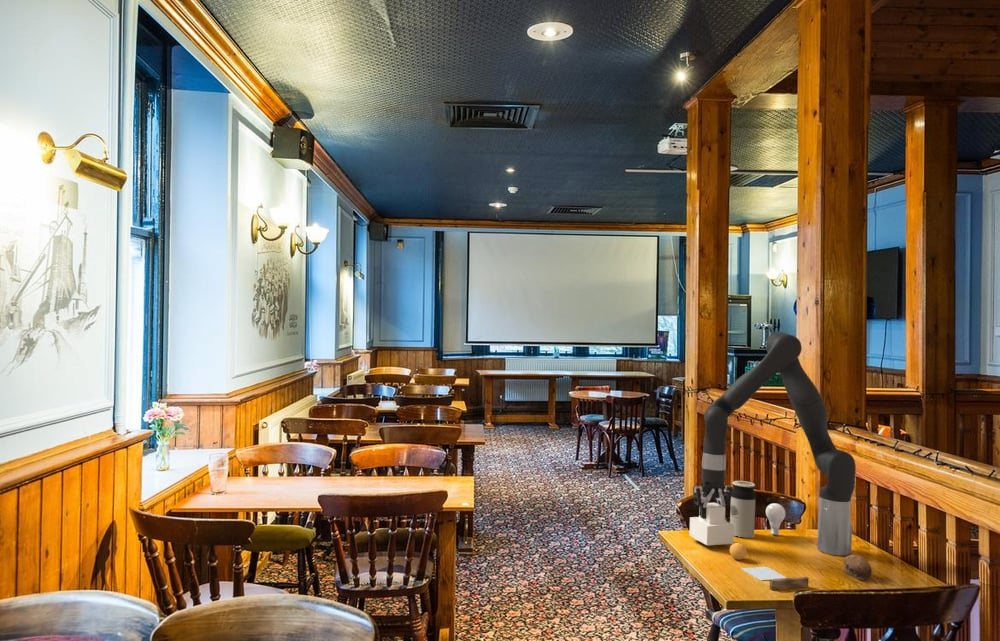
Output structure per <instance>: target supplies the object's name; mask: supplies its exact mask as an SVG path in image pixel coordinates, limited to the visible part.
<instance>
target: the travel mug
mask: <svg viewBox="0 0 1000 641" xmlns="http://www.w3.org/2000/svg"><path fill="white" fill-rule="evenodd" d="M755 486H756V484H755V483H754V482H750V481H747V480H746V481H745V480H734V481H732V488H733V490H732V496H731V502H730V512H729V514H730V515H729V516H730V517H729V523H731V524H733V525H734V537H736V536H738V537H737V538H740V537H744V538H743V539H751V538H754V537H755V524H756V523H755V521H756V520H755V519H756V518H755V517H756V492H755V490H754V489H755Z"/></svg>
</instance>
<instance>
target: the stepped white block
mask: <svg viewBox="0 0 1000 641" xmlns="http://www.w3.org/2000/svg"><path fill="white" fill-rule="evenodd" d="M698 509H699V511H698V512H699V513H698V514H700V508H698ZM688 533H689V534H688V535H689V536H690V537H691V538H693V539H695V540H696V541H698V542H700V543H701V544H704V545H706V546H717V545H732V544H734V542H735V541H734V540H735V536H734V525H733V524H731V523H730V521H727V520H726V506H725V507H723V506H721V505H719V504H718V502H708V503H707V506H706V519H703V518H701V516H700V515H698V516H692V517H689V532H688Z"/></svg>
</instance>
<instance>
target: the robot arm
mask: <svg viewBox="0 0 1000 641" xmlns="http://www.w3.org/2000/svg"><path fill="white" fill-rule="evenodd" d="M802 347H803V346H802V343H801V341H800V339H799V338H798V337H796V336H794V335H792V334H789V333H786V332H781V331H778V332H774V333H772V334H770V335H769V336H768V337H767V340H766V342H765V350H766V352H767V354H766V355H765V356H764V357H763V358H762V360H760V362H758V363H757V364H756V365H755V366H753V367H752V368H751V369H749V370H747V372H745V373H743V374H742V375H741V376H739V377H738V378H737V379H736V380H735V381H734V382H733V383H732V384H731V385H730V386H729V387H727V389H726V390H725V392H723V394H721V396H719V397H718V398H717V399H716V400H714V401H713V402H712V403H711V404H710V405H709V406H708V407H707V408H706V409H705V411H704V413H703V419H704V421H705V433H704V435H705V436H704V438H703V448H702V450H703V452H702V458H701V476H700V477H701V484H700V485H699V486H692V493H693V503H694V504H695V505H697V506H698V507H699V509H700V514H699V513H698V514H699V515H700V516H701V518H703V519H706V506H707V503H710V501H711V499H713V498H714V499H715V500H716V503H717V504H719V505H721V506H723V507H725V508H726V506H727V505H731V496H732V490H733V486H731V485H728V484H727V485H725V482H726V471H727V470H726V468H727V466H726V465H727V458H726V448H727V447H726V446H727V441H726V439H727V438H726V437H727V432H728V425H729V424H728V423H729V418H730V416H731V415H732V414H733V413H734V412H735V411H736V410H739V409H740V408H742V407H743V406H744V405H745V404H746V403H747V402H748V401H749V400H750V399H751V398H752V397H753V396H754V395H755V393H757V392H758V391H759V390H760V389H761V388H762V387H763V386H764V385H765V384H767V382H768V381H770V380H771V379H772V378H773V377H774V376H776V375H777V374H779V375H780V378H781V380H782V383H783V386H784V388H785V391H786V394H787V396H788V398H789V401H790V403H791V406H792V408H793V411H794V412H795V415H796V417H797V419H798V421H799V423H800V426H801V428H802V431H803V432H804V434H805V437H806V439H807V441H808V444H809V448H810V451H811V453H812V456H813V459H814V462H815V465H816V467H817V469H818V471H820V472H821V473H822V474H824V475H826V476H827V479H826V480H827V481H826V485H825V486H821V487H820V488H819V491H818V492H819V494H818V516H817V518H818V519H817V544H816V546H817V547H816V548H817V549H816V550H818V551H819V552H822V553H823V554H824V553H825V554H827V555H832V556H849V554H852V541H853V523H851V505H852V504H851V500H852V495H853V493H854V491H855V482H856V460H855V459H854V457H853V455H852V454H850V453H849V452H847V451H844V450H840V449H838V448H837V447H836V446H835V444H834V442H833V440H832V438H831V436H830V434H829V430H828V411H827V407H826V405H825V402H824V401H823V398H822V395H821V393H820V392H819V390H818V388H817V387H816V385H815V383H814V382H813V381H812V379H811V378H810V377H809V375H808V374H807V373H806V372H805V370H804V368H803V367H802V365H801V362H800V359H799V356H800V355H801V353H802ZM699 515H698V516H699Z"/></svg>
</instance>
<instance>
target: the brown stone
mask: <svg viewBox="0 0 1000 641" xmlns="http://www.w3.org/2000/svg"><path fill="white" fill-rule="evenodd" d="M843 562H844V568H843V571H844V573H845V574H847V575H850V576H854V577H855V578H856V579H859V580H862V581H864V580H865V581H866V580H868V579H869V578H870V577H871V576H872V574H873V571H872V570H873V569H872V567H871V565H870V563H869V562H868V560H866V559H865V558H864V557H862V556H860V555H858V554H857V555H856V554H850V555H849V554H848V555H846V556H845V558H844V561H843Z"/></svg>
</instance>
